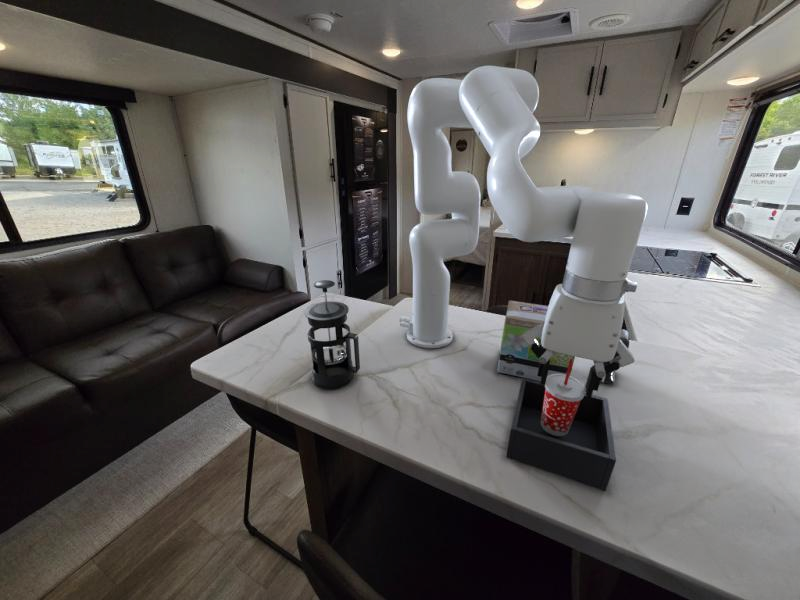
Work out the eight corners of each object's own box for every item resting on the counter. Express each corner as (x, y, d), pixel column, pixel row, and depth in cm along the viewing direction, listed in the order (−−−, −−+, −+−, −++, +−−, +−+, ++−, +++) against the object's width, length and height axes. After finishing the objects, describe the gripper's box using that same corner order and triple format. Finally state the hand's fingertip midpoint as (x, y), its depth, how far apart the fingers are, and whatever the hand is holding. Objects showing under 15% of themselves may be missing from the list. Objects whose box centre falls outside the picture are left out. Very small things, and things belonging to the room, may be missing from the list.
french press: (301, 385, 75) (287, 287, 65) (322, 361, 83) (312, 272, 73) (350, 395, 71) (342, 294, 62) (367, 370, 80) (362, 277, 70)
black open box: (505, 457, 57) (510, 428, 54) (517, 403, 69) (522, 377, 66) (605, 491, 51) (616, 460, 49) (599, 425, 63) (607, 398, 61)
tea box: (496, 374, 78) (504, 316, 72) (500, 351, 86) (507, 298, 80) (568, 388, 73) (583, 328, 67) (564, 363, 82) (577, 307, 76)
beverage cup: (532, 411, 63) (546, 347, 57) (567, 415, 62) (585, 350, 56) (540, 437, 57) (557, 369, 51) (578, 441, 56) (600, 373, 50)
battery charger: (617, 388, 73) (632, 342, 69) (597, 382, 75) (610, 337, 70) (617, 371, 79) (631, 328, 74) (599, 366, 80) (611, 323, 76)
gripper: (659, 285, 48) (623, 387, 56) (530, 267, 55) (514, 360, 62) (671, 306, 42) (629, 417, 49) (525, 283, 48) (507, 384, 56)
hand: (565, 384), depth 56 cm, fingers closed on beverage cup, 6 cm apart
